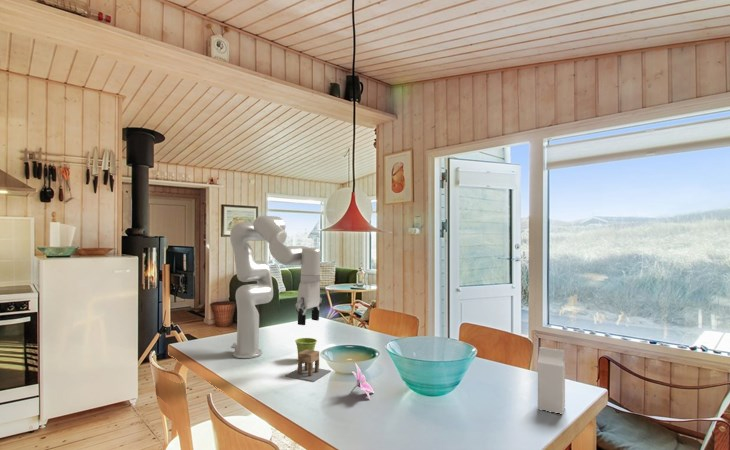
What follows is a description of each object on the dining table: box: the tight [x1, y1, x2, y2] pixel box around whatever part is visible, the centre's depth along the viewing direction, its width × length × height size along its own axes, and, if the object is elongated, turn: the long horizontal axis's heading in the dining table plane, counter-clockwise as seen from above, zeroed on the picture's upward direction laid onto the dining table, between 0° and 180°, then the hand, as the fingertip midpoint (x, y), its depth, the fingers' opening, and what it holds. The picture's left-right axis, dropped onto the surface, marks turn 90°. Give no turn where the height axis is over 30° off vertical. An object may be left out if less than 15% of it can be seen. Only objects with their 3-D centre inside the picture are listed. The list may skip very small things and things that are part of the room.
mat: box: [284, 365, 332, 383], centre depth 158 cm, size 13×13×1 cm
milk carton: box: [537, 346, 566, 415], centre depth 129 cm, size 7×7×19 cm
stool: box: [297, 349, 320, 376], centre depth 158 cm, size 6×6×8 cm
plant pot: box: [294, 337, 318, 354], centre depth 175 cm, size 9×9×9 cm
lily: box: [349, 362, 375, 400], centre depth 137 cm, size 12×12×10 cm
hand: (308, 322), depth 159 cm, fingers open, 9 cm apart
